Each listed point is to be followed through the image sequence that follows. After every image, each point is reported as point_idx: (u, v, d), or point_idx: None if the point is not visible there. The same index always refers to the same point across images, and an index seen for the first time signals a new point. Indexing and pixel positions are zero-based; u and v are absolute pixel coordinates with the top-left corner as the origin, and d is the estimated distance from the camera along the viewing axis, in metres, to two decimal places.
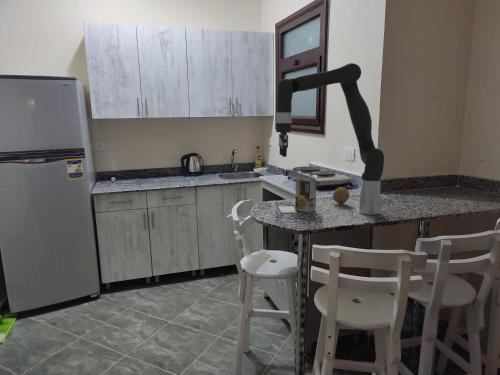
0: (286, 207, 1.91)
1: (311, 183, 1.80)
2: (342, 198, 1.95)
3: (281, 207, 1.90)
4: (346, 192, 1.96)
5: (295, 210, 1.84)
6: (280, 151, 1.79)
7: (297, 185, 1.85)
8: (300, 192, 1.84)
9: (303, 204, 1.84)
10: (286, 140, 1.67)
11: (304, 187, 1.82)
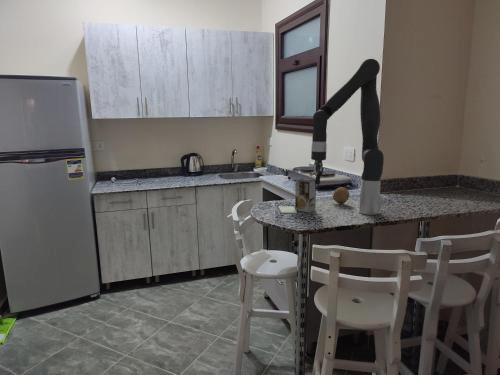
0: (286, 207, 1.91)
1: (311, 183, 1.80)
2: (342, 198, 1.95)
3: (281, 207, 1.90)
4: (346, 192, 1.96)
5: (295, 210, 1.84)
6: (316, 180, 1.85)
7: (297, 185, 1.85)
8: (300, 192, 1.84)
9: (303, 204, 1.84)
10: (321, 172, 1.79)
11: (304, 187, 1.82)
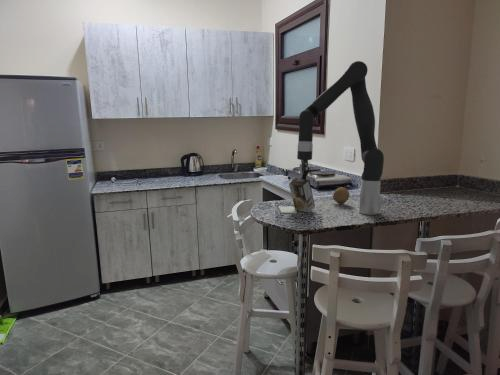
0: (286, 207, 1.91)
1: (304, 186, 1.76)
2: (342, 198, 1.95)
3: (281, 207, 1.90)
4: (346, 192, 1.96)
5: (295, 210, 1.84)
6: None
7: (291, 188, 1.81)
8: (296, 194, 1.82)
9: (301, 205, 1.83)
10: (306, 171, 1.79)
11: (299, 190, 1.79)
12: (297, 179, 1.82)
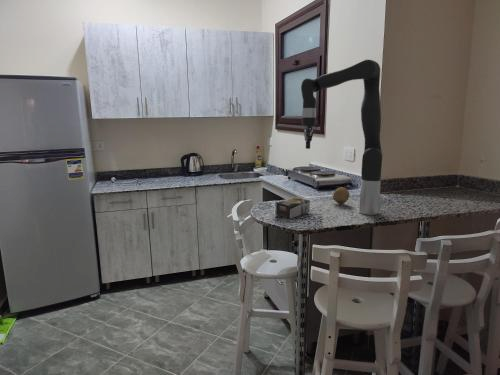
0: None
1: (291, 215, 1.71)
2: (342, 198, 1.95)
3: None
4: (346, 192, 1.96)
5: None
6: None
7: None
8: None
9: None
10: (311, 136, 1.91)
11: None
12: (279, 206, 1.74)
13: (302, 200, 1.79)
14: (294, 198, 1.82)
